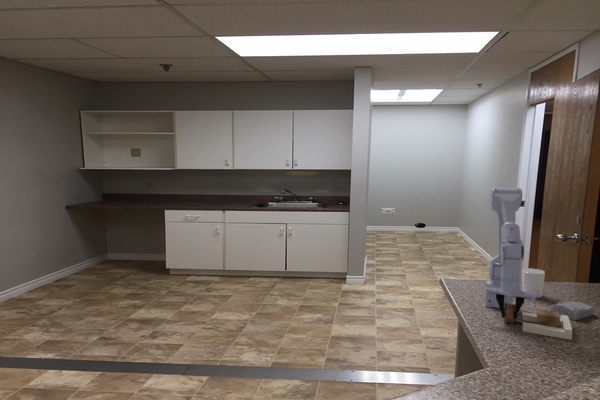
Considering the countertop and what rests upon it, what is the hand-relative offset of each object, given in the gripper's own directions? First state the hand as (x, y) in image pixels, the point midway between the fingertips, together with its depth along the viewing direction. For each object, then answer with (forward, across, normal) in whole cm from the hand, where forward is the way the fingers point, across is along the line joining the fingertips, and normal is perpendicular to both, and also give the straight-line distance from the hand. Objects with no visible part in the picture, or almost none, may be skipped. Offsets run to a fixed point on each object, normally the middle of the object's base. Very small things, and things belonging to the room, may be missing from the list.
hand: (509, 317), depth 135 cm
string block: (+1, +6, 0) cm, 6 cm away
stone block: (+2, +19, +19) cm, 27 cm away
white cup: (+2, +8, +35) cm, 36 cm away
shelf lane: (+1, +10, 0) cm, 10 cm away
